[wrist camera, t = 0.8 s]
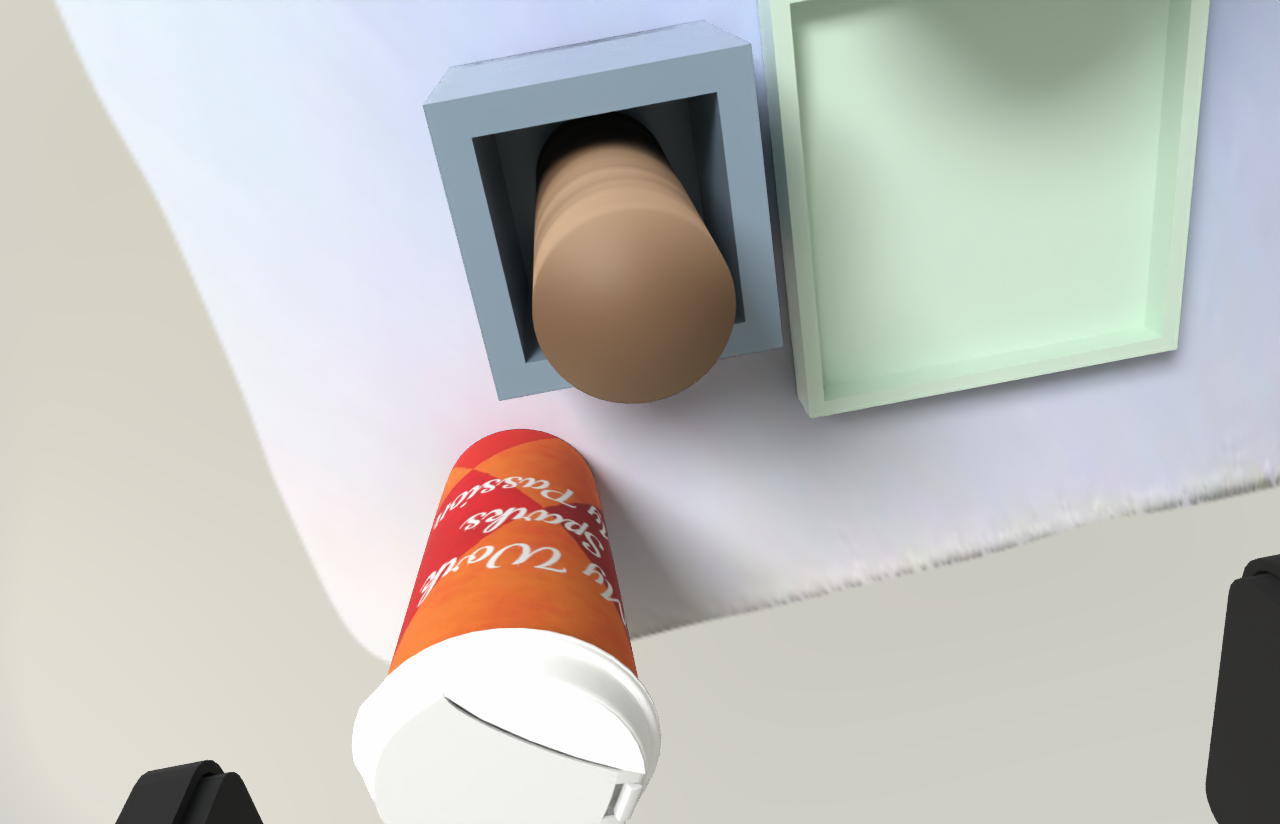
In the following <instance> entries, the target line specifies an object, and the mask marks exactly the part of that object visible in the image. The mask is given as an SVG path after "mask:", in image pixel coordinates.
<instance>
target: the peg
mask: <svg viewBox="0 0 1280 824" xmlns="http://www.w3.org/2000/svg"><path fill="white" fill-rule="evenodd" d="M735 313H736V294H735V288H734V283H733V279H732V276H731V273H730V270H729V268H728V266H727V264H726V262H725V260H724V258H723V256H722V254H721V252H720V251H719V249H718V247H717V245H716V244H715V242H714V240H713V238H712V237H711V235H710V233H709V231H708V230H707V228H706V226H705V224H704V222H703V221H702V219H701V217H700V215H699V214H698V212H697V210H696V208H695V207H694V205H693V203H692V201H691V199H690V198H689V196H688V194H687V192H686V191H685V189H684V187H683V185H682V184H681V182H680V180H679V178H678V176H677V175H676V173H675V171H674V169H673V168H672V166H671V164H670V162H669V161H668V159H667V157H666V155H665V153H664V152H663V150H662V148H661V146H660V145H659V143H658V141H657V140H656V138H655V137H654V135H653V134H652V133H651V132H650V131H649V130H648V129H647V128H646V127H645V126H644V125H643V124H641V123H640V122H639V121H637V120H636V119H634V118H632V117H630V116H628V115H626V114H623V113H619V112H616V111H612V112H607V113H601V114H596V115H591V116H585V117H580V118H575V119H569V120H567V121H565V122H564V123H562V124H561V125H560V126H559V127H558V128H557V129H556V130H555V131H554V132H553V133H552V134H551V135H550V137H549V138H548V139H547V141H546V143H545V144H544V146H543V148H542V151H541V153H540V156H539V160H538V163H537V171H536V200H535V233H534V266H533V299H532V315H533V324H534V330H535V333H536V337H537V340H538V343H539V345H540V347H541V349H542V352H543V354H544V355H545V357H546V358H547V360H548V362H549V363H550V365H551V366H552V367H553V368H554V369H555V370H556V372H557V373H558V374H559V375H560V376H561V377H563V378H564V379H565V380H566V381H567V382H568V383H570V384H571V385H573V386H574V387H575V388H577V389H579V390H581V391H582V392H584V393H586V394H588V395H591V396H593V397H596V398H599V399H602V400H606V401H610V402H617V403H626V404H627V403H645V402H652V401H656V400H660V399H664V398H667V397H669V396H672V395H674V394H677V393H679V392H681V391H682V390H684V389H686V388H688V387H689V386H691V385H692V384H694V383H695V382H697V381H698V380H699V379H700V378H701V377H702V376H704V375H705V374H706V373H707V372H708V371H709V370H710V369H711V367H712V366H713V365H714V364H715V363H716V361H717V360H718V358H719V357H720V356H721V354H722V353H723V351H724V349H725V347H726V345H727V343H728V341H729V338H730V335H731V332H732V330H733V325H734V320H735Z"/></svg>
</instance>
